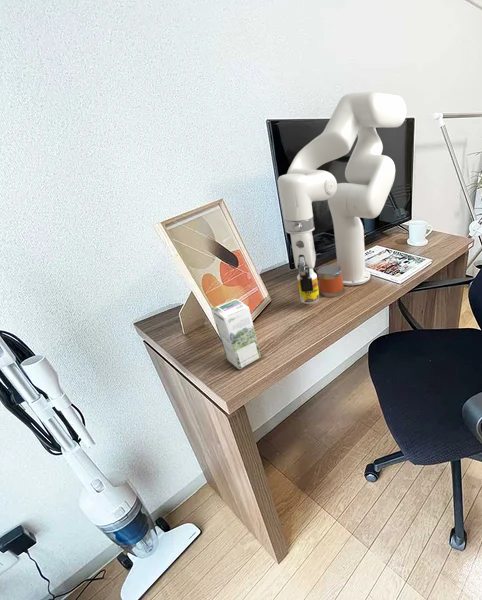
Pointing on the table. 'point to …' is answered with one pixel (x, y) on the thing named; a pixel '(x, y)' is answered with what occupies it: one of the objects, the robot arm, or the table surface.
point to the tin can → (330, 280)
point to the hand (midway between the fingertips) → (308, 285)
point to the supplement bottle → (309, 296)
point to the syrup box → (236, 333)
